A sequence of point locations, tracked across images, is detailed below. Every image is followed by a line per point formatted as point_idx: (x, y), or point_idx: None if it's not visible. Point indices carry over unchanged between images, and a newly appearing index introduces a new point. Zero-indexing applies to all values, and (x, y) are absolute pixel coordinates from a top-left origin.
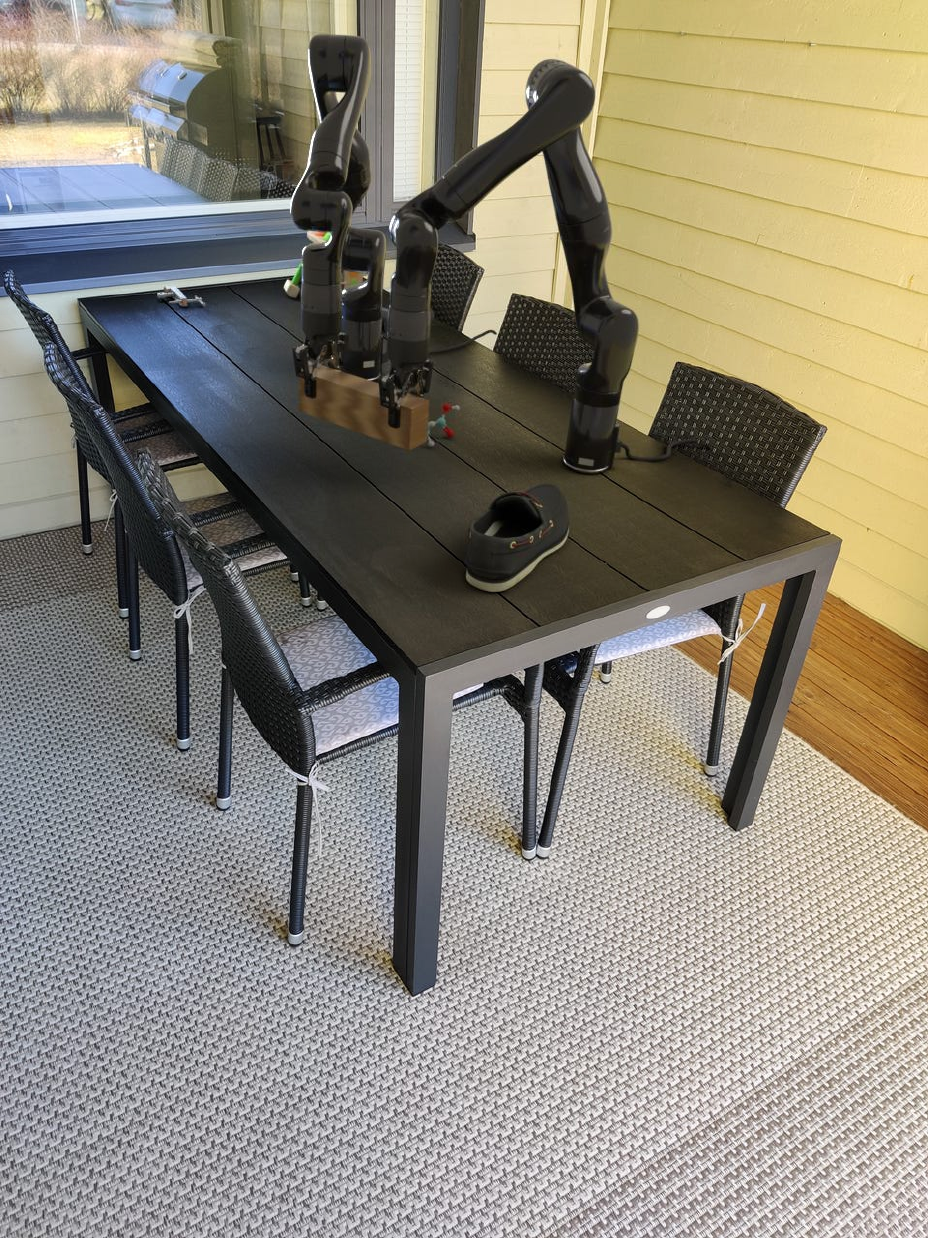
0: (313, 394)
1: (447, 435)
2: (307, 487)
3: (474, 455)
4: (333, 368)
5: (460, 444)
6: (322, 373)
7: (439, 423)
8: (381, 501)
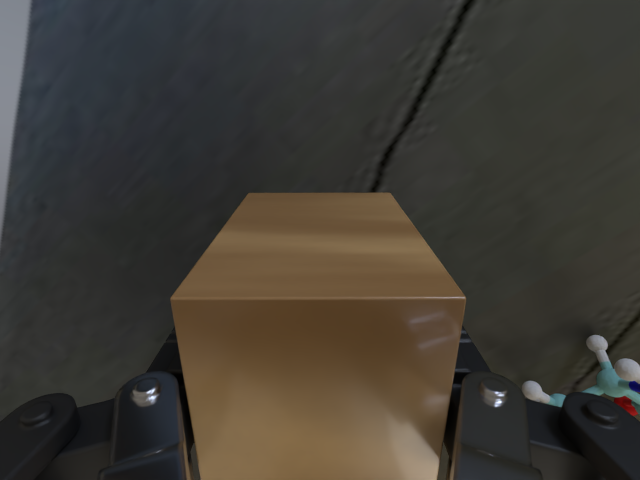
0: None
1: (615, 402)
2: (130, 318)
3: None
4: (446, 446)
5: None
6: (289, 456)
7: (637, 410)
8: None
